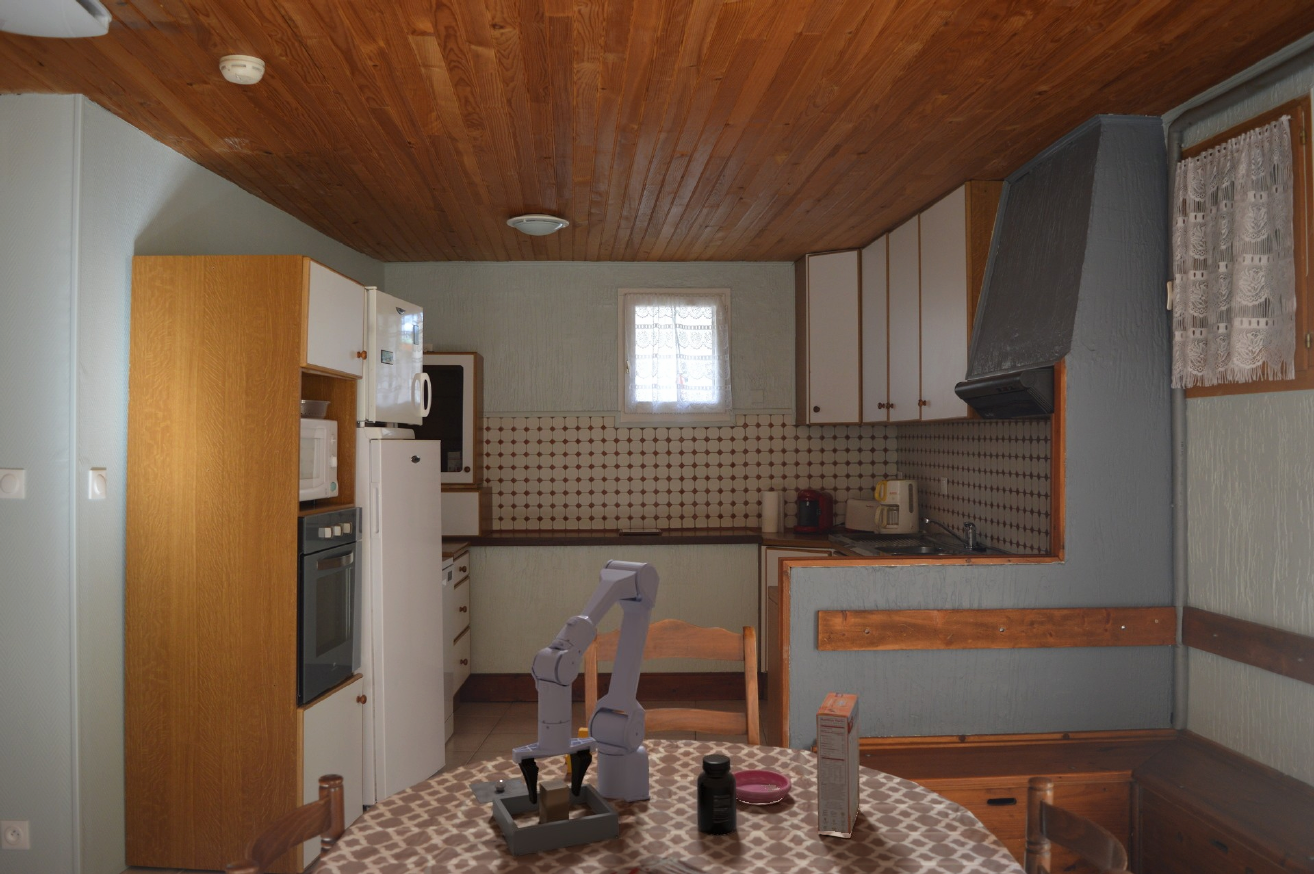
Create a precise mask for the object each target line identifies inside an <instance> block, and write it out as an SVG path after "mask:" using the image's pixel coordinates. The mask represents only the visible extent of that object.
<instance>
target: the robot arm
mask: <svg viewBox="0 0 1314 874" xmlns="http://www.w3.org/2000/svg"><path fill="white" fill-rule="evenodd" d="M598 574H599V575H598V576H599V577H598V579H599V580H598V582H599V583H598V586H597V587H596V589H595V590H594V592H593V594H592V595H591V596H590V598H589V600H588V602H587V603H586V605H585V606H584V608H583V610H582V612H581V613H580V615H573V616H571V617H569V618H568V620H567V621H566V622H565V624H564V626H563V627H562V629H561V630H560V631H559V633H558V634H557V635H556V637H555V638H554V639H553V641H552V642H551V643H550V645H549V646H548V647H544V648H542V649H540V650H538V651H537V652H536V654H535V655H534V658H533V660H532V665H531V666H530V673H531V676H532V678H533V679H534V682H535V689H536V691H537V692H538V694H537V695H538V696H537V697H538V698H537V699H538V700H537V701H538V702H537V703H538V704H537V707H538V708H537V709H538V711H537V717H538V718H537V719H538V721H537V724H538V725H537V742H535V743H531V744H528V745H523V746H520V747H516V748H512V751H511V752H512V754H511V755H512V756H511V758H512V759H511V761H512V762H513V763H514V764H517V765H518V767H519V770H521V771H520V772H521V773H522V776H523V778H524V783H525V785H526V786H527V789H528V793H529V800H530V802H531V803H532V804H537V791H538V779H539V778H538V777H539V769H540V767H539V766H538V765H537V761H536V760H538V759H545V758H551V757H552V758H553V757H558V756H559V757H560V756H564V755H565V756H566V754H570V759H571V771H572V773H571V781H570V782H571V783H570V786H571V791H572V794H573V795H574V796H575V797H577V796H579V794H580V789H581V785H582V784H583V781H584V778H585V776H586V773H587V771H588V770H589V769H588V768H589V767H590V765H591V763H592V761H593V754H592V755H591V754H590V752H592V753H593V752H596V751H597V753H596V755H597V756H596V757H597V759H596V760H597V761H596V762H597V763H596V765H597V767H596V770H597V771H596V772H597V774H596V776H597V778H596V790H597V791H598V792H599V793H600V794H601V796H602V797H603V798H605V799H606V798H607V799H615V800H616V799H624V801H626V803H630V802H637V801H643V800H649V799H651V794H650V761H649V755H648V751H647V749H646V747H645V746H644V745H643V742H644V740H645V736H646V726H645V725H646V724H645V722H646V721H645V719H646V713H647V711H646V710H645V709H644V708H643V706H642V705H641V704H640V703H639V701H638V700H637V699H636V697H637V693H638V687H639V686H638V685H639V682H640V675H641V670H642V664H643V658H644V654H645V650H646V649H645V648H646V644H647V637H648V632H649V626H650V622H651V616H652V610H653V608H654V607H655V604H656V599H657V594H658V590H659V589H658V588H659V583H660V576H659V573H658V572H657V568H656V567H655V565H654V564H653V563H651V562H638V561H626V560H625V561H624V560H617V559H609V560H608V561H606V563H605V564H604V566H603V568H601V570H600V571H599V573H598ZM616 603H617V604H618V605H619V606H620V607H621V609H622V611H623V615H622V616H623V617H622V620H621V625H620V631H619V636H618V641H617V646H616V651H615V656H614V662H613V666H612V667H613V668H612V670H611V671H612V672H611V677H610V682H609V687H608V693H607V694H605V695H604V696H602V698H600V699H598V700H597V701H596V702H595V707H594V710H593V712H592V714H591V716H590V718H589V721H588V723H587V724H588V725H587V728H588V734H589V737H590V738H578V737H577V738H575V737H574V738H572V691H573V690H572V689H573V688H572V683H573V682H574V681H575V680H576V679H577V677H578V675H579V671H580V665H581V663H582V661H583V656H584V655H585V653H586V651H587V650H588V649H589V648H590V646H591V645H592V643H593V641H594V640H595V639H596V637H597V628H596V627H597V626H598V624H599V623H600V622H601V621H602V619H603V618H605V616H606V615H607V614H608V612H609V611H610V610H611V609H612V607H613V606H614V605H615V604H616ZM614 711H615V712H614ZM616 711H621V712H624V713H621V712H616Z"/></svg>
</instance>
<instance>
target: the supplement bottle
mask: <svg viewBox="0 0 1314 874" xmlns="http://www.w3.org/2000/svg"><path fill="white" fill-rule="evenodd" d="M701 767H702V769H701V770H702V772H700V773H699V774H698V776H697V779H696V803H697V804H696V808H697V809H696V811H697V812H696V815H697V819H696V820H697V822H696V823H697V828H698V829H699V831H701V832H702V833H704V834H706V833H707V835H710V834H712V835H711V836H725V835H724V834H726V835H729V834H732V833H733V832H735V830H736V829H737V823H738V822H737V817H738V816H737V812H738V811H737V807H738V806H737V799H736V778H735V776H734V775H733V774H732V773H733V772H731V768H732V767H731V758H730V756H728V755H725V754H721V753H720V754H719V753H713V754H707V755H704V756H703V757H702V766H701ZM732 831H733V832H732ZM731 832H732V833H731ZM728 833H729V834H728Z"/></svg>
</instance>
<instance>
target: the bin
mask: <svg viewBox="0 0 1314 874" xmlns="http://www.w3.org/2000/svg"><path fill="white" fill-rule="evenodd" d="M568 786H569V806H573V805H579V804H587V805H588V807H589V808H591V810H592V811H593V812H594V813H595V814H594V815H588V816H582V817H576V818H569V820H563V821H557V822H551V823H545V824H542V823H540V824H534V825H528V826H522V827H518V824H517V823H516V822H515V820H514V819H513V818H512V815H517V814H523V813H524V814H525V813H528V812H529V813H530V812H536V811H539V790H537V804H532V803H531V802H530V800H529V793H521V794H515V795H508V796H501V797H495V798H493V802H492V816H493V817H492V818H493V819H494V821H496V823H497V825H498V827H499V828H500V830H501V832H502V833H503V835H501V837H502V839H503V841H504V843H505V844H506V847H508V849H509V852H510V853H511V855H512V856H513V857H518V856H519V857H520V856H525V855H529V854H534V853H541V852H546V851H552V850H558V849H563V848H569V847H573V846H580V845H585V844H591V843H596V842H601V841H607V840H613V839H617V838H618V839H619V837H620V834H619V833H620V832H619V827H620V826H619V825H620V822H619V819H620V818H619V817H620V816H619V812H618V811H617V810H616V809H615V808H614V807H613V806H612V804H610V802H608V800H607V799H606V798H605V797H603V796H601V794H600V793H599V792H598V791H597V788H595V787H594V786H593V785H592V784H591V783H590V782H588V783H582V785H581V789H580V794H579V796H577V797H575V796H574V795H573V794H572V791H571V785H568Z"/></svg>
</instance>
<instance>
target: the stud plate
mask: <svg viewBox="0 0 1314 874" xmlns="http://www.w3.org/2000/svg"><path fill="white" fill-rule="evenodd" d="M468 787H469V788H470V789H471V792H472V793H473V795H474V797H475V798H476V801H478V804H479V805H481V804H486V803H493V798H495V797H501V796H508V795H515V794H521V793H528V789H527V785H526V783H525V781H524V780H522V778H521V776H519V777H518V776H517V777H509V778H505V779H497V780H490V781H482V782H475V783H469V784H468Z"/></svg>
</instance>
